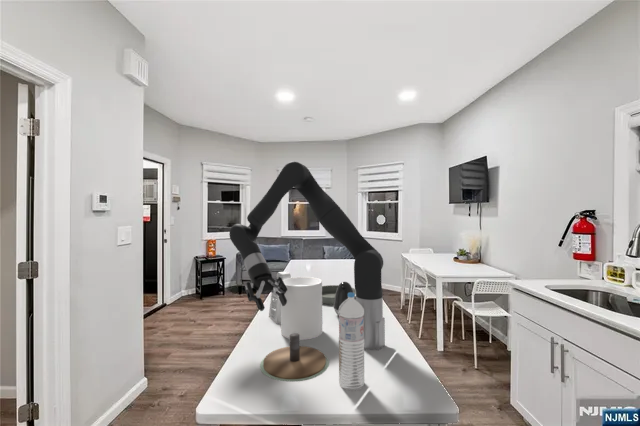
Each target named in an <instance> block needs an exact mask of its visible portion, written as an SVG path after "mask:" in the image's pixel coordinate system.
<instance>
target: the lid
mask: <svg viewBox="0 0 640 426" xmlns="http://www.w3.org/2000/svg"><path fill="white" fill-rule="evenodd" d="M300 341H301V340H300V338H299V334H298V333H292V334H290V339H289V346H285V347H281V348H277V349H275V350H273V351H271V352H269V353H268V354H267V355H266V356H265V357H263V359H264V361H263V367H264V369H265V371H266V372H267V373H268V374H270V375H272V376H274V377H277V378H281V379H302V378H307V377H310V376H313V375H315V374H317V373H319V372H320V371H322V370H323V368H324V367H325V365H326V358H325V356H326V355H325V354H324V353H323V352H322V351H321V350H319V349H316V348H314V347H310V346H303V345H301V344H300Z"/></svg>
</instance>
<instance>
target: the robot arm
mask: <svg viewBox="0 0 640 426" xmlns="http://www.w3.org/2000/svg"><path fill="white" fill-rule="evenodd" d="M293 189H295V190H297V192H299V193H300V194H301V196H303V198H304V199H305V200H306V201H307V202H308V204H309V206H310V208H311V211H312V213H313V215H314V217H315V218H316V220H317V221H318V222H319V224H320V225H321V226H322V227H323V228H324V230H325V231H326V232H327V233H328V234H329V235H331V237H333V238H334V239H336V241H337V242H339V243H340V244H341V245H343V246H344V247H345V248H346V249H347V251H349V253H350V254H351V255H352V257H353V259H354V263H353V279H354V289H355V290H356V294H355V299H356V300H357V301H358V302H359V303H360V304H361V305H362V307H363V308H364V350H370V351H375V350H376V351H380V350H381V349H382V348H383V347H384V346H385V345H386V342H385V341H386V337H385V336H386V325H385V323H386V321H385V317H384V316H383V315H384V310H383V308H384V306H383V303H384V302H383V301H384V299H383V298H384V297H383V296H384V294H383V293H384V292H383V286H382V270H383V267H384V259H383V256H382V255H381V253H380V252H379V251H378V250H377V249H375V247H374V246H372V244H370V242H369V241H368V240H366V238H365V237H364V236H363V235H362V234H361V233H360V231H359V230H358V229H357V228H356V226H355V225H354V224H353V222H352V220H350V218H349V216H347V214H346V213H345V212H344V210H343V209H342V208H341V207H340V206H339V204H338V203H336V202H335V200H334V199H333V198H332V197H331V196H330V195H329V194H328V193H327V192H326V191H325V190H324V189H323V188H322V187H321V186H320V184H319V183H318V181H317V180H316V179H315V177H314V176H313V174H312V173H311V171H310V170H309V168H308V167H307V166H306V165H304V164H303V163H300V162H298V161H295V160H294V161H293V160H292V161H289V162H287V163H286V164H285V165H284V166H283V168H282V169H281V170H280V171H279V174H278V175H277V177H276V179H275V180H274V181H273V183H272V184H271V186H270V188H269V189H268V191H267V192H266V193H265V194H264V196H263V197H262V198H261V199H260V201H259V202H258V203H257V204H256V205H255V206H254V207H253V209H251V211H250V212H249V214H247V216H246V217H247V218H246V219H247V222H248V223H249V225H248V226H247V225H245V224H242V223H235V224H233V225H232V226H231V227H230V229H229V233H228V234H229V239H230V241H231V242H232V244H233V245H234V248H235V249H236V250H237V251H238V252H239V253H240V255H241V258H242V260H243V263H244V266H245V270H246V273H247V274H248V277H249V279H250V282H249V281H247V282H246V284H245V285H244V290H245V292H246V293H245V294H246V296H247V300H248V301H249V302H255V304H256V307H257V309H258V311H260V312H263V311H264V310H265V304H264V303H263V300H262V297H261V295H265V294H270V293H271V294H272V293H273V294H276V295H277V296H279V299H280V302H281V304H282V306H285V305H286V303H287V300H286V297H285V295H284V294H285V293H286V291H287V288H286V286H285V284H284V282H283V280H282V278H281V277H279V278H278V279H277V278H276V279H275V278H274V277H273V275H272V272H271V270H270V268H269V267H270V266H269V265H268V263H267V261H266V259H265V257H264V255H263V254H262V251H261V249H260V247H259V245H258V244H257V243H256V242H255V241H256V240H257V238H258V236H259V234H260V232H261V230H262V228H263V226H264V225H265V224H266V223H267V221H269V220H270V218H271V217H272V216H273V214H274V213H275V212H276V211H277V208H278V206H279V205H280V203H281V201H282V199H283V198H284V196H286V194H288V192H290V191H291V190H293ZM275 283H276V284H275ZM277 285H278V286H277ZM273 288H275V290H273ZM253 289H254V290H256V292H255V294H254V291H253ZM279 292H280V293H279Z"/></svg>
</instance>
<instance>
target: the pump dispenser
mask: <svg viewBox="0 0 640 426" xmlns="http://www.w3.org/2000/svg"><path fill="white" fill-rule="evenodd" d="M352 288H353V286H352V285H351V284H350V283H349V282H347V281H341V282H340V283H339V286H338V288H337V291H336V294H335V299H334V304H333V309H334V312H335V314H336V315H337V316H338V317H339V311H338V310H339V307H340V305H341V304H342V303H343V302H344V301H345V300H346V299H348V293H350V292H352V293H354V292H353V289H352ZM354 299H356V296H355V297H354Z"/></svg>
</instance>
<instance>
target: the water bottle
mask: <svg viewBox="0 0 640 426" xmlns="http://www.w3.org/2000/svg"><path fill="white" fill-rule="evenodd" d="M354 297H355V299H354ZM338 311H339V316H338V383H339V386H340V387H341V388H342V389H344V390H346V391H351V392H353V391H354V392H356V391H360V390H361V389H363V388H364V387H365V349H364V308H363V307H362V305H361V304H360V303H359V302H358V301H357V300H356V294H354V293H352V292H350V293H348V299H346V300H345V301H344V302H343V303H342V304H341V305H340V307H339V310H338Z"/></svg>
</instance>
